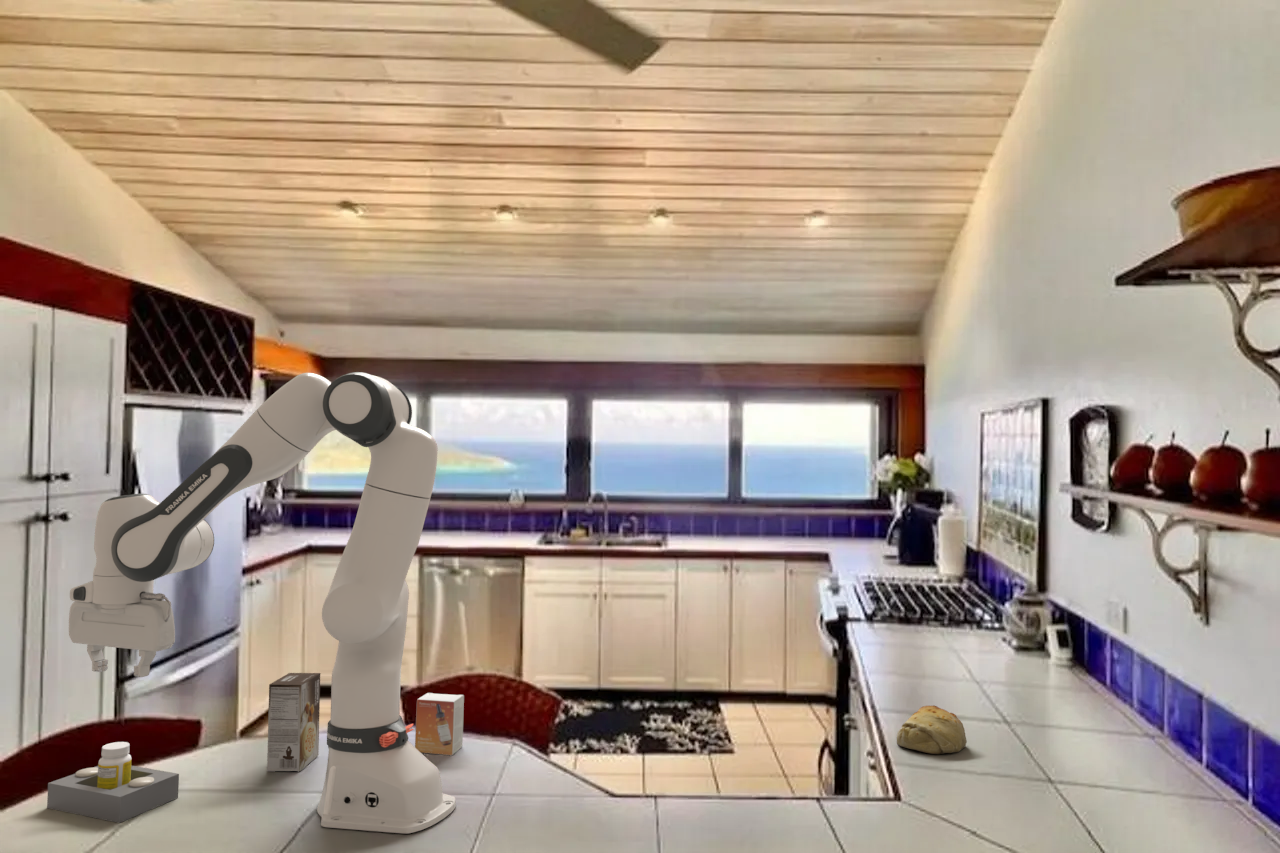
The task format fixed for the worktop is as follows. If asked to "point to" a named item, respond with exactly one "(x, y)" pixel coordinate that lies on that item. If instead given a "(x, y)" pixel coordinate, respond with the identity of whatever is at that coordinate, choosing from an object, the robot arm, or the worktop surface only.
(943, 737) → the pastry
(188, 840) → the worktop surface
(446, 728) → the small box
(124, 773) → the supplement bottle
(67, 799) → the housing
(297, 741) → the coffee box
